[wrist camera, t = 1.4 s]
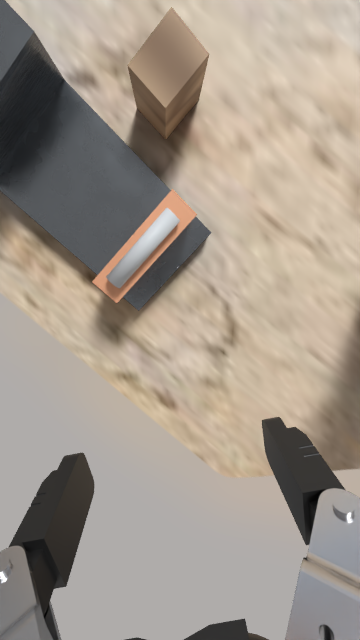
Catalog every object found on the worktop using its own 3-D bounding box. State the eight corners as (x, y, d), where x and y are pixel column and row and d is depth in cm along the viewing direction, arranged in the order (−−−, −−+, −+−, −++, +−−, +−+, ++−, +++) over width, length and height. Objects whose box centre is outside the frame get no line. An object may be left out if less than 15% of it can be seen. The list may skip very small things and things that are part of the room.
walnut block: (170, 66, 27) (171, 6, 20) (198, 99, 27) (209, 54, 21) (137, 108, 27) (127, 65, 21) (165, 139, 28) (165, 108, 22)
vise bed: (33, 52, 26) (-23, -29, 18) (208, 233, 31) (222, 230, 23) (-35, 153, 28) (-112, 119, 20) (140, 306, 33) (132, 326, 25)
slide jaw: (171, 198, 28) (172, 185, 22) (191, 219, 29) (199, 212, 22) (103, 275, 30) (87, 284, 23) (124, 293, 30) (113, 306, 24)
